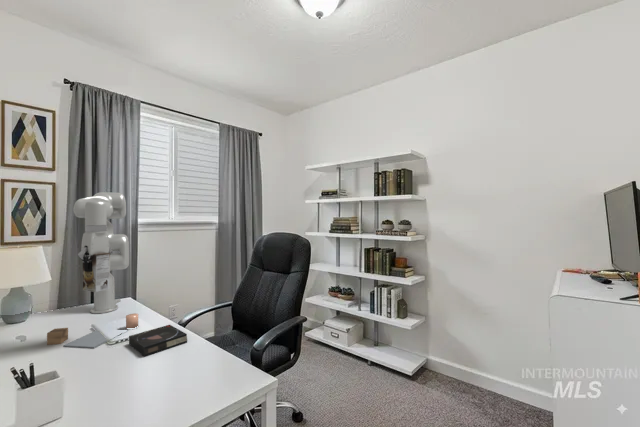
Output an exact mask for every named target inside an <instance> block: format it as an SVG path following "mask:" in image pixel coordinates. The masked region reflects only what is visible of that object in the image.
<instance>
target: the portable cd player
mask: <svg viewBox="0 0 640 427" xmlns="http://www.w3.org/2000/svg"><path fill="white" fill-rule="evenodd" d="M186 343H188V336H187V333H186V332H184V331H182V330H181V329H179V328H177V327H175V326H173V325H171V324H166V325H163V326H160V327H156V328H153V329H149V330H145V331H142V332H138V333H135V334H131V335H129V336H128V345H129V346H130V347H131V348H132V349H134V350H135V351H136V352H138V353H139V354H140V355H141V356H142V357H147V356H150V355H154V354H157V353H161V352H163V351H165V350H169V349H171V348H174V347H177V346H180V345H183V344H186Z"/></svg>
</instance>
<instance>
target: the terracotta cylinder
mask: <svg viewBox="0 0 640 427" xmlns="http://www.w3.org/2000/svg"><path fill="white" fill-rule="evenodd" d="M137 326H138V327H139V313H130V314H129V313H128V314H127V315H126V316H125V329H126V328H135V327H137Z"/></svg>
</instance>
